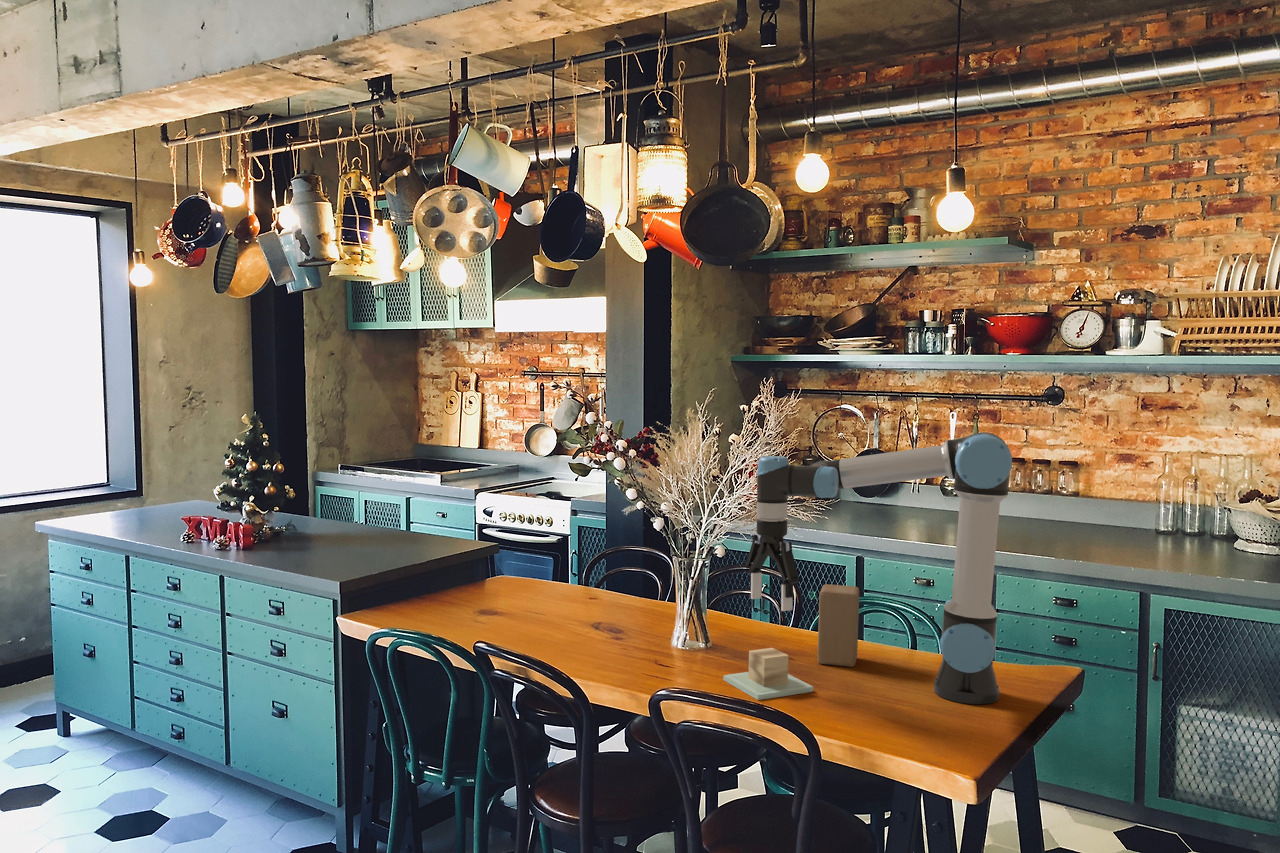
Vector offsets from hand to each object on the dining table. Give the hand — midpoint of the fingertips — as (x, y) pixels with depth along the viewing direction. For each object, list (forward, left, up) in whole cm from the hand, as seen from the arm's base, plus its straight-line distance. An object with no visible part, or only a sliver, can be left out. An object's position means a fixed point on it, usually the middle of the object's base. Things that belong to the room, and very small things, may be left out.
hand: (771, 604), depth 233 cm
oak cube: (0, 0, -19) cm, 19 cm away
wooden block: (+10, -29, -21) cm, 37 cm away
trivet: (0, 0, -21) cm, 21 cm away
